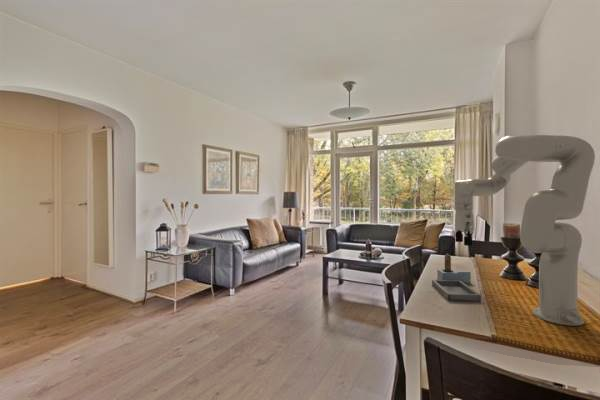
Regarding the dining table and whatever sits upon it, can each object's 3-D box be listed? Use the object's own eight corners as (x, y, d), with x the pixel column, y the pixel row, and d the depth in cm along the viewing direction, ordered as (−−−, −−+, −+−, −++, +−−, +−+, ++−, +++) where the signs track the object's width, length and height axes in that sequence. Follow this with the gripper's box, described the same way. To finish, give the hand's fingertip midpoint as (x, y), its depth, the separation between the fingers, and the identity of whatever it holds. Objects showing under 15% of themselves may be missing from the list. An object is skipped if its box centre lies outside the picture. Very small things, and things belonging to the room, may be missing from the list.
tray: (480, 301, 111) (480, 295, 111) (447, 300, 113) (447, 294, 113) (460, 286, 130) (460, 280, 130) (432, 285, 132) (432, 279, 132)
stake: (452, 282, 135) (451, 255, 135) (446, 282, 135) (446, 255, 135) (449, 280, 138) (449, 253, 138) (443, 280, 139) (443, 253, 138)
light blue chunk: (472, 284, 132) (472, 273, 132) (442, 283, 134) (442, 272, 134) (466, 279, 139) (466, 269, 139) (437, 279, 141) (437, 268, 141)
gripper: (481, 207, 126) (481, 247, 127) (464, 205, 143) (464, 240, 144) (462, 207, 127) (462, 246, 128) (448, 206, 144) (448, 240, 145)
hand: (463, 243), depth 136 cm, fingers open, 9 cm apart
